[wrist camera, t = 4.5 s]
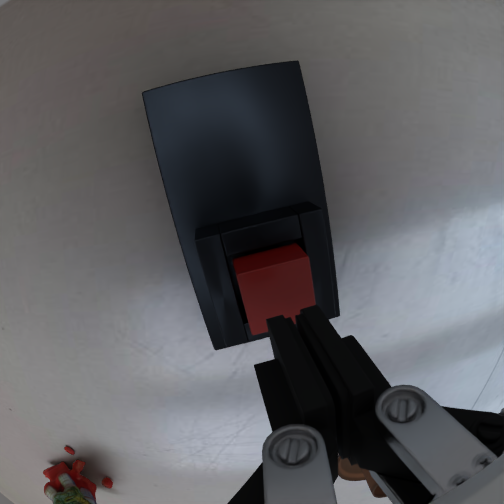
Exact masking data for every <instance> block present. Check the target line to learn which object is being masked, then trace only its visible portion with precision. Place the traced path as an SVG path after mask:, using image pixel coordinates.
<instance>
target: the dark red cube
mask: <svg viewBox="0 0 504 504" xmlns="http://www.w3.org/2000/svg"><path fill="white" fill-rule="evenodd" d="M232 261H233V265H234V269H235V273H236V277H237V281H238V285H239V289H240V293H241V296H242V300H243V304H244V308H245V312H246V316H247V319H248V323H249V327H250V330H251V334H252V335H257V334H261V333H264V332H268V327H267V323H266V319H268V318H272V317H275V316H279V315H283V316H284V317H285V318H288V317H291V318H292V320H293V322H294V324H296V320H295V315H299V314H300V309H303V308H306V307H310V306H313V305H316V302H315V295H314V288H313V281H312V274H311V268H310V261H309V257H308V255H307V254H306V253H305V252H304V251H303V250H302V249H301V248H300V247H299V245H298V244H297V243H292V244H288V245H285V246H281V247H277V248H273V249H269V250H265V251H261V252H257V253H253V254H249V255H245V256H241V257H237V258H234V259H232Z"/></svg>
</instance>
